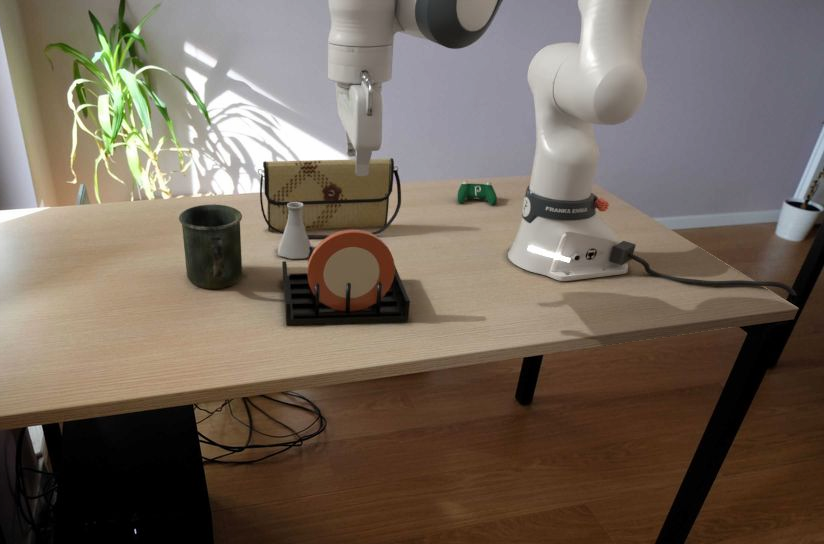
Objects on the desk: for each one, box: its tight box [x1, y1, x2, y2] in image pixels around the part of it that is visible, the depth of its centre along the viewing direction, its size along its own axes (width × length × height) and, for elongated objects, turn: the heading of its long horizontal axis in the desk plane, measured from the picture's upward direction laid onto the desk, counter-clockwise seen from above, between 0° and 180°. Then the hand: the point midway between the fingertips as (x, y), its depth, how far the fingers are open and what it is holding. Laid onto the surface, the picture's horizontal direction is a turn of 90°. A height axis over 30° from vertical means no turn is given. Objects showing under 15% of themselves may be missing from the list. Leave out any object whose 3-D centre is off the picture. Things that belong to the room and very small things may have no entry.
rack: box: [281, 245, 411, 327], centre depth 113 cm, size 20×16×7 cm
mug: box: [178, 204, 243, 290], centre depth 117 cm, size 11×15×12 cm
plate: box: [306, 229, 396, 311], centre depth 106 cm, size 14×1×14 cm, turn 95°
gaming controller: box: [457, 180, 498, 206], centre depth 158 cm, size 9×4×6 cm
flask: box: [277, 202, 312, 260], centre depth 129 cm, size 7×7×10 cm
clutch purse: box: [257, 157, 402, 239], centre depth 137 cm, size 30×7×15 cm, turn 99°
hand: (356, 164), depth 98 cm, fingers open, 8 cm apart
